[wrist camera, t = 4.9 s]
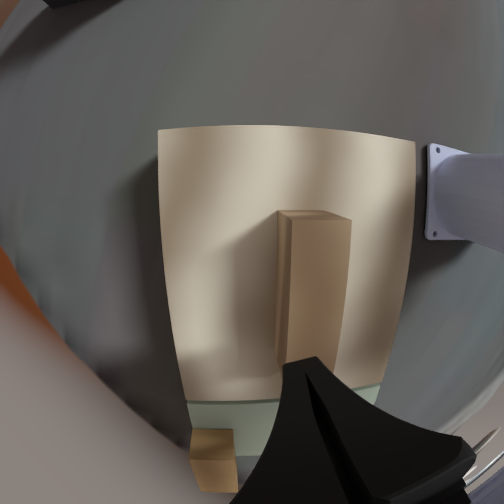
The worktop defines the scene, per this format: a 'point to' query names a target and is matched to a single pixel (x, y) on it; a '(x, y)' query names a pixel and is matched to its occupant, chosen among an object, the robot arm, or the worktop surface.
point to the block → (214, 460)
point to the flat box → (249, 418)
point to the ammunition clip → (59, 2)
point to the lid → (283, 253)
